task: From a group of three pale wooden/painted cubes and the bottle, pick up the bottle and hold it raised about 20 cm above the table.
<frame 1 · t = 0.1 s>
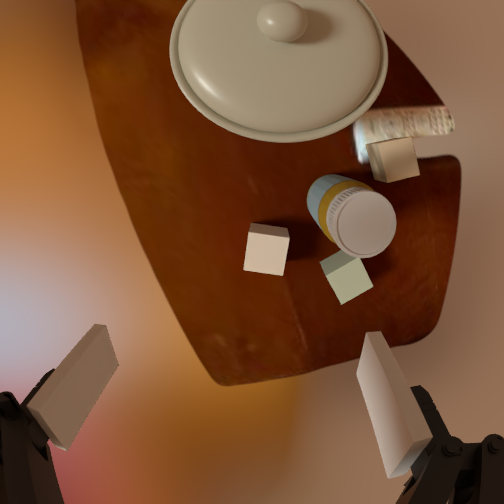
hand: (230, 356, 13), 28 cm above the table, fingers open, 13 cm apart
birch cube: (385, 158, 36), on the table
cream cube: (266, 242, 41), on the table
canister: (275, 84, 34), on the table
bottle: (331, 199, 38), on the table
sage cube: (341, 267, 41), on the table
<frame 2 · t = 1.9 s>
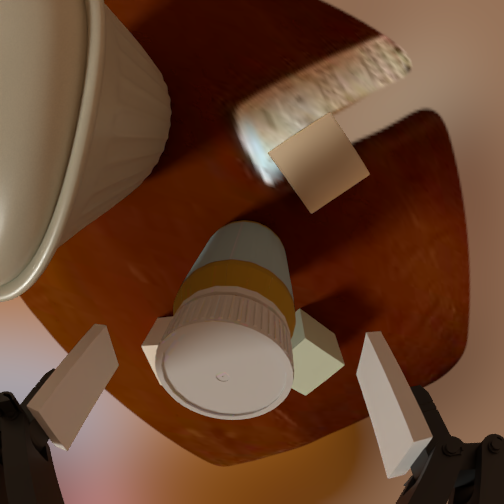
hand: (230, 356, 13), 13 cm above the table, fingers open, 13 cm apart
birch cube: (309, 160, 23), on the table
cream cube: (187, 335, 29), on the table
canister: (111, 126, 22), on the table
bottle: (245, 256, 26), on the table
sage cube: (300, 337, 28), on the table
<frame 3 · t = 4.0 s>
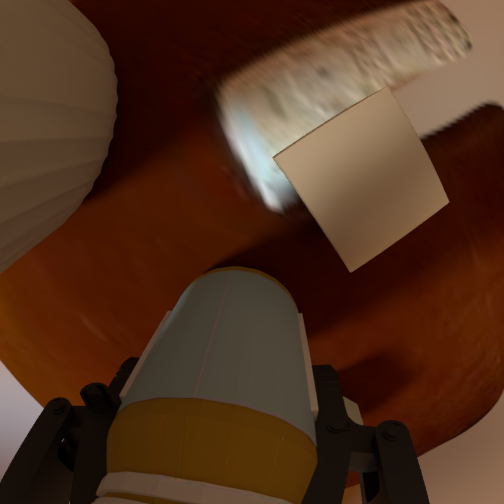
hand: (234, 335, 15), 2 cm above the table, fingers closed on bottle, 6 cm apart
birch cube: (339, 170, 14), on the table
canister: (48, 124, 14), on the table
bottle: (238, 315, 17), on the table, touching gripper
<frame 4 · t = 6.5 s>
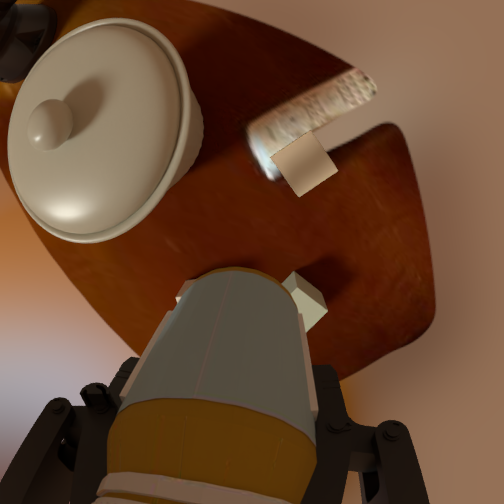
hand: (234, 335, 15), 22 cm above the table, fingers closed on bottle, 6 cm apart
birch cube: (299, 162, 33), on the table
canister: (155, 134, 33), on the table
bottle: (239, 315, 17), point 20 cm above the table, touching gripper
sage cube: (295, 295, 38), on the table
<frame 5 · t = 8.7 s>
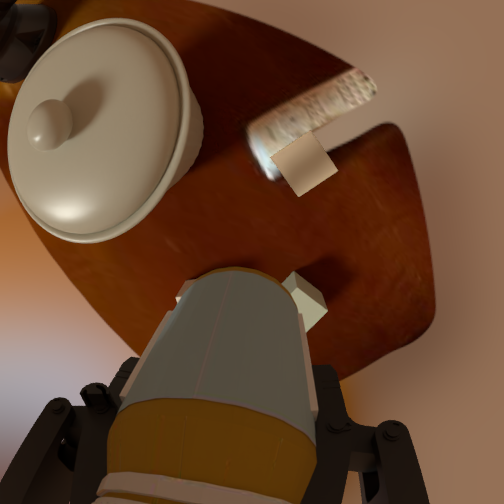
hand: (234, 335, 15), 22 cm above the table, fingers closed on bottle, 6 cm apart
birch cube: (299, 162, 33), on the table
canister: (155, 134, 33), on the table
bottle: (239, 315, 17), point 20 cm above the table, touching gripper
sage cube: (295, 295, 38), on the table
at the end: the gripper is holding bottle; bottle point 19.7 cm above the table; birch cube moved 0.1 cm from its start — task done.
